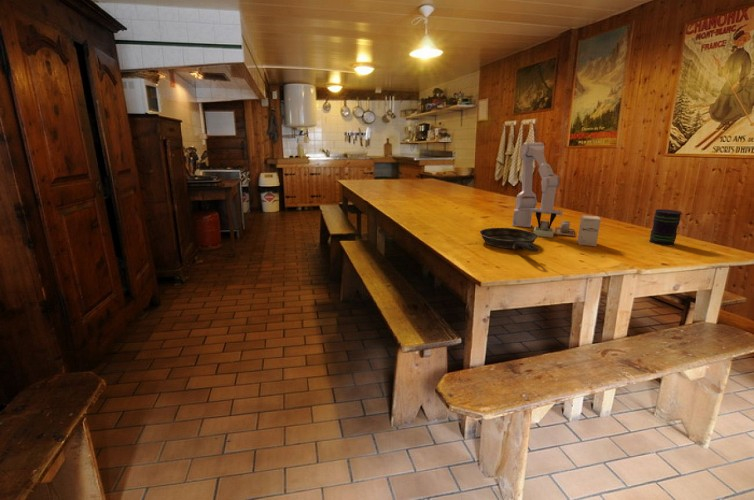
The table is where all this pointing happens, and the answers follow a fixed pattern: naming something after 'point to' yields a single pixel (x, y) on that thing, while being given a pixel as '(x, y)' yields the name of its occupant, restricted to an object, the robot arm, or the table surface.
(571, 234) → the shallow brown tray
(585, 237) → the supplement box
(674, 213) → the storage jar
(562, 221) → the stone back
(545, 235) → the bin
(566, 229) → the stone mid
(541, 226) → the stone front
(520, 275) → the table surface
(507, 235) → the frying pan
